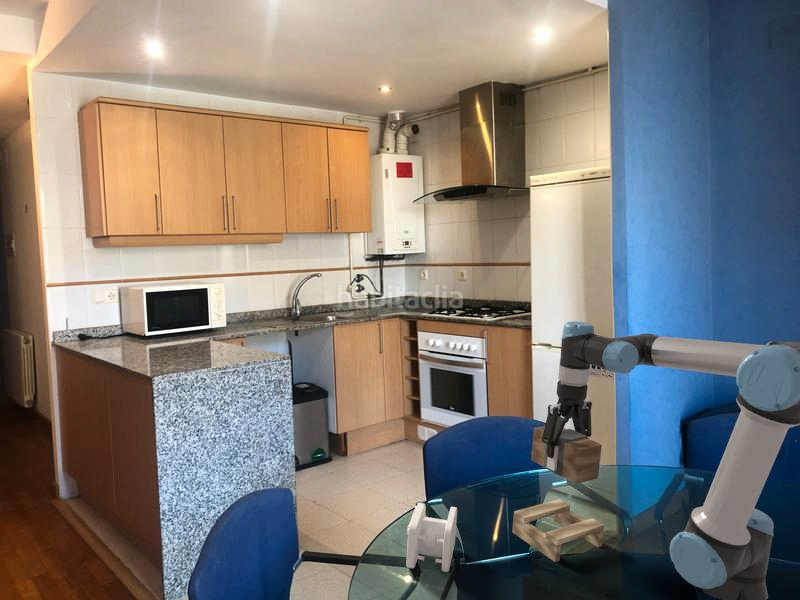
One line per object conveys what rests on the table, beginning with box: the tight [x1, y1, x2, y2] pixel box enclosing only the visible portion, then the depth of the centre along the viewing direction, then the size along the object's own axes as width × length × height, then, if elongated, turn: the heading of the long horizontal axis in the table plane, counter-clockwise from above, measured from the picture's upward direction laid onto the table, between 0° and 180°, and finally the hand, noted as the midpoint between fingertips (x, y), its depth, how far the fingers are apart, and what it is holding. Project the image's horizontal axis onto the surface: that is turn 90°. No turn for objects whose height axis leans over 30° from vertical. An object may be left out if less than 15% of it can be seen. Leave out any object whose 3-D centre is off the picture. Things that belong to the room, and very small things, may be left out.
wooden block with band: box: [530, 425, 603, 485], centre depth 167 cm, size 16×8×9 cm, turn 32°
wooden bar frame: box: [511, 498, 605, 563], centre depth 171 cm, size 16×17×6 cm
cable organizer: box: [405, 502, 458, 573], centre depth 157 cm, size 15×11×12 cm
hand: (564, 465), depth 168 cm, fingers closed on wooden block with band, 8 cm apart
